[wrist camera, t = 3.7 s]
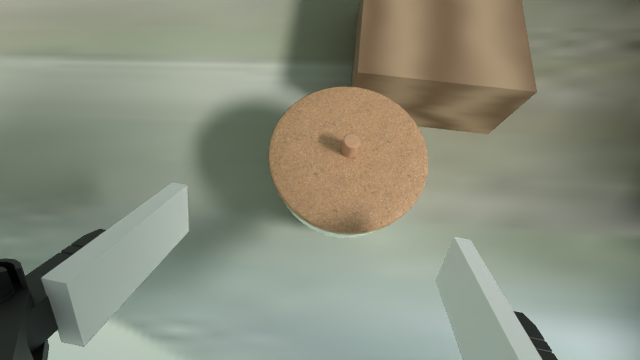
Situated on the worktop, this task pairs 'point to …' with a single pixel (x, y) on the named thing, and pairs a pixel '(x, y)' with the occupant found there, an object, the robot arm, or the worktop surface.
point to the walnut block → (446, 59)
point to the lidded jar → (347, 161)
